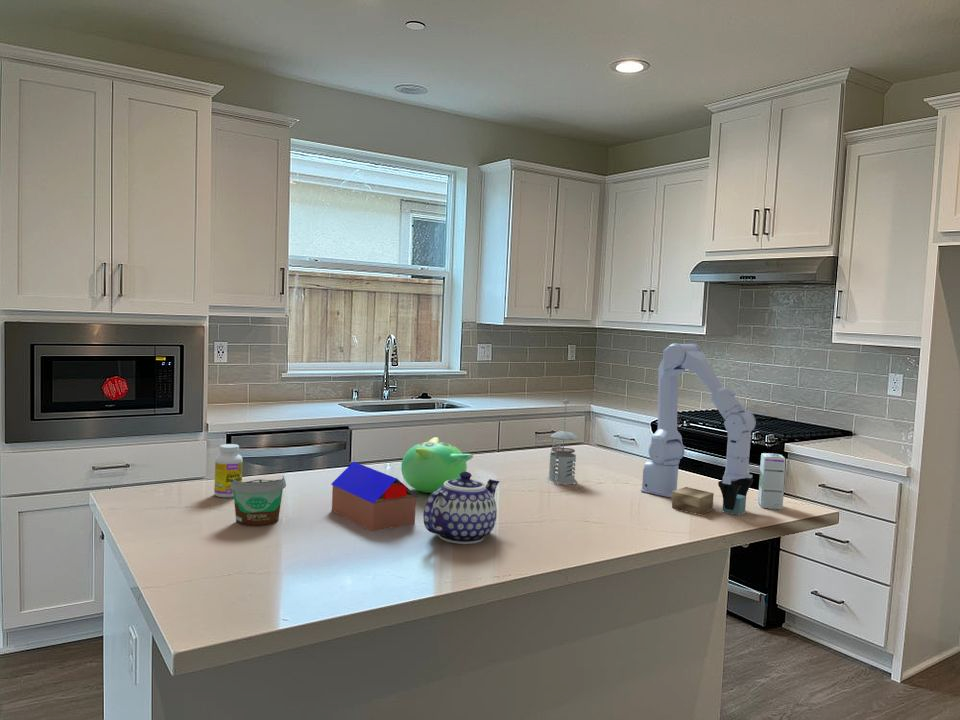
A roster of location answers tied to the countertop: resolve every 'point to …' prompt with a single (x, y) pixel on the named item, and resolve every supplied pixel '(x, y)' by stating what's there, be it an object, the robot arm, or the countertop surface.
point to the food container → (257, 501)
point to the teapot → (462, 510)
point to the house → (373, 498)
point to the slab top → (692, 496)
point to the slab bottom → (692, 507)
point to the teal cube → (737, 505)
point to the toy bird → (433, 465)
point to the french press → (562, 458)
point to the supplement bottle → (227, 470)
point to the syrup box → (771, 481)
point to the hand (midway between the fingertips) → (734, 506)
